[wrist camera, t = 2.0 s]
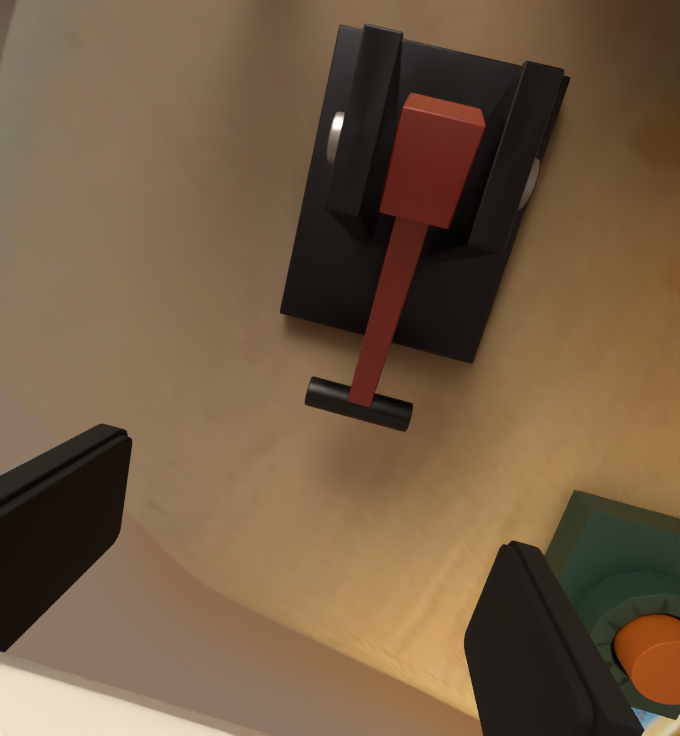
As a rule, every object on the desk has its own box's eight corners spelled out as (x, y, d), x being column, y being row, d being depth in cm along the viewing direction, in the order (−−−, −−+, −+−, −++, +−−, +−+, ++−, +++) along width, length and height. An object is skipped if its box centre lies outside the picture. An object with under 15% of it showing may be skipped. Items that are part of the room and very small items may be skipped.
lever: (406, 409, 21) (402, 446, 19) (313, 383, 21) (300, 418, 19) (528, 119, 12) (541, 138, 10) (364, 81, 12) (349, 92, 10)
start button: (631, 604, 22) (652, 632, 20) (706, 625, 22) (733, 655, 20) (601, 660, 23) (619, 691, 21) (672, 681, 23) (696, 714, 21)
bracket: (468, 359, 23) (548, 444, 12) (284, 311, 24) (192, 348, 12) (559, 88, 20) (800, -162, 8) (342, 38, 20) (287, -263, 9)
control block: (574, 489, 24) (610, 530, 20) (741, 535, 24) (810, 586, 20) (505, 641, 27) (525, 702, 24) (653, 685, 27) (698, 754, 23)
